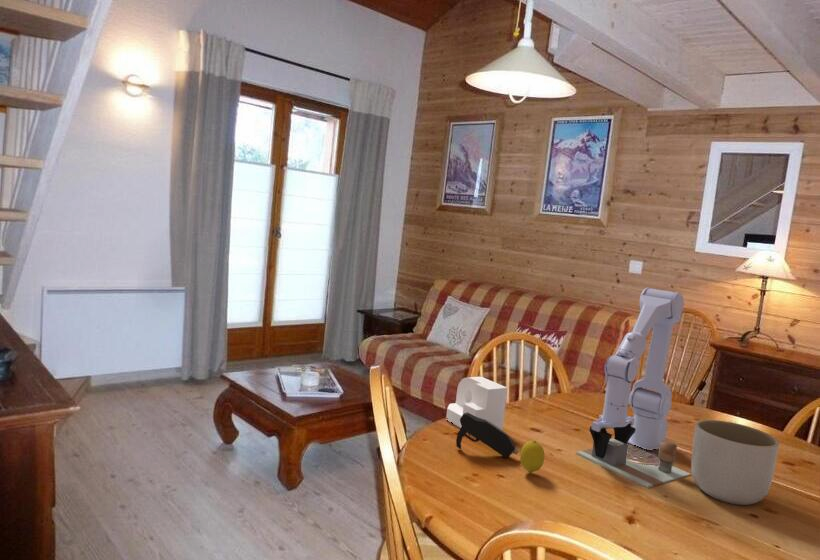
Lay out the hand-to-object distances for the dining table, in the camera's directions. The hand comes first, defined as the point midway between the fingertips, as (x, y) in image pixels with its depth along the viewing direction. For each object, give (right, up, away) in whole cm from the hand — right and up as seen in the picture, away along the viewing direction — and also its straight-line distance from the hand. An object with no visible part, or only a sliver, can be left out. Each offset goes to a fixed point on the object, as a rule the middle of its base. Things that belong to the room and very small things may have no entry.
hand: (609, 454), depth 150 cm
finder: (0, -1, 0) cm, 1 cm away
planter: (+23, -6, -13) cm, 27 cm away
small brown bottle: (+13, -3, -3) cm, 14 cm away
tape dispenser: (-34, +3, +20) cm, 39 cm away
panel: (+6, -3, 0) cm, 6 cm away
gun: (-35, -1, -1) cm, 35 cm away
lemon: (-23, -1, -11) cm, 25 cm away
